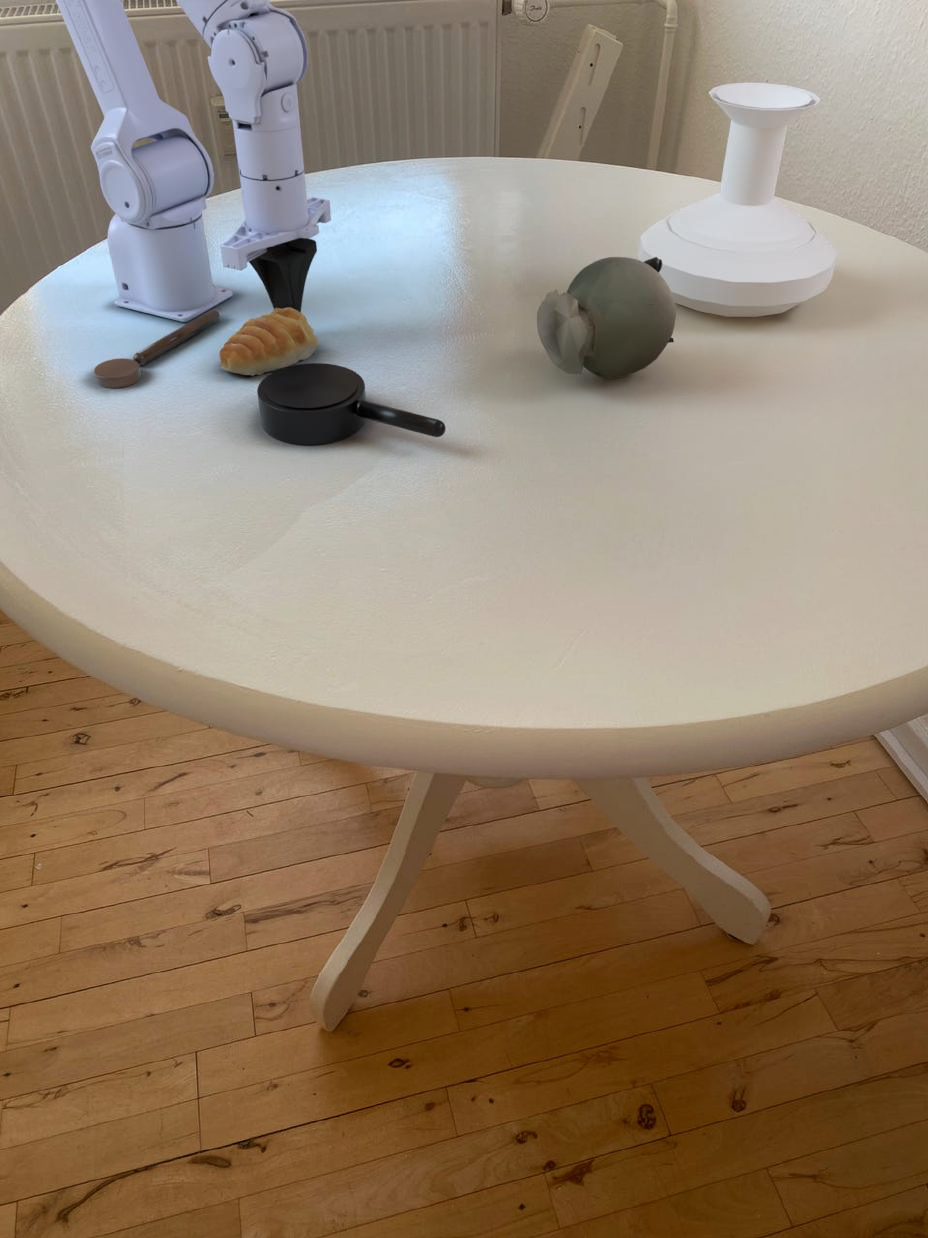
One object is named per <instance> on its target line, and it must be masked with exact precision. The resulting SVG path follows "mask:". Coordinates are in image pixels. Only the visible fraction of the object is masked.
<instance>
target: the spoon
mask: <svg viewBox="0 0 928 1238" xmlns="http://www.w3.org/2000/svg"><path fill="white" fill-rule="evenodd" d="M220 318H221V313H220V312H219V311H218V310H217V309H212V308H211V309H209V310H207V311H205V312H204V313H202V314H200V315H198V316H197V317H195V318H193V319H192V320H190V321H188V322H186V323H185V324H184V325H182V326H180V327H179V328H177V329H176V330H174V331H172V332H170V333H169V334H166V335H165V336H163V337H161V338H160V339H158V340H156V341H155V342H153V343H151V344H149V345H147V346H146V347H144V348H143V349H140V350H139V351H137V352H135V353H134V355H133V356H132V357H133V358H132V359H131V358H124V357H123V358H122V357H121V358H112V359H108V360H104V361H102V362H100V363H99V364H97V365H96V366H95V367H94V369H93V373H94V377H95V382H96V383H97V384H98V385H99V386H101V387H103V388H109V389H121V388H125V387H129V386H132V385H134V384H136V383H138V382H139V381H140V379H141V378H142V371H141V366H144V365H146V364H147V363H149V362H151V361H153V360H154V359H156V358H158V357H160V356H161V355H162V354H165V353H166V352H168V351H170V350H171V349H172V348H175V347H176V346H178V345H179V344H181V343H183V342H184V341H186V340H188V339H190V338H191V337H193V336H194V335H196V334H198V333H200V332H201V331H203V330H205V329H206V328H208V327H209V326H211V325H213V324H215V323H216V322H218V321H219V320H220Z"/></svg>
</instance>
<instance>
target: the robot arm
mask: <svg viewBox="0 0 928 1238" xmlns="http://www.w3.org/2000/svg"><path fill="white" fill-rule="evenodd" d="M175 1H176V2H177V4H178V5H179V7H180V8H181V10H182V11H183V12H184V14H185V15H186V16H187V18H188V19H189V20H190V22H191V23H192V25H193V27H194V28H195V29H196V30H197V31H198V33H199V34H200V36H201V37H202V38H203V40H204V42H205V43H206V44H207V45H208V47H209V48H210V49H211V52H210V53H211V54H210V55H209V56H207V61H208V63H207V64H208V66H209V67H208V68H209V70H210V73H211V75H212V77H213V80H214V81H215V83H216V85H217V86H218V88H219V90H220V92H221V93H222V97H223V101H224V109H225V112H227V114H228V117H229V119H230V120H231V121H232V128H233V135H234V136H233V137H234V144H235V151H236V158H237V159H236V160H237V167H238V174H239V183H240V190H241V197H242V205H243V212H244V221H243V222H242V223H241V224H240V226H239V227H238V228H237V230H236V231H235V232H234V233H233V234H232V236H230V238H229V239H228V240H226V241H225V242H223V243H221V244H220V245H219V247H220V255H221V262H222V267H223V268H228V269H231V270H236V271H243V270H245V269H247V268H248V263H249V264H250V266H251V267H252V268H253V270H254V271H255V273H256V274H257V275H258V277H259V279H260V281H261V283H262V285H263V286H264V288H265V291H266V293H267V295H268V297H269V301H270V303H271V305H272V307H273V310H274V309H275V308H280V309H284V308H288V307H291V308H293V309H295V310H298V311H299V312H300V313H302V305H303V298H304V292H305V287H306V283H307V282H306V281H307V277H308V274H309V270H310V268H311V265H312V262H313V260H314V258H315V255H316V254H317V252H318V246H317V241H316V240H315V239H312V238H313V237H315V236H317V235H318V234H319V233H320V229H319V228H320V227H319V225H318V224H319V223H321V224H327V223H329V222H331V221H332V213H331V200H330V199H326V198H325V199H324V198H320V197H315V196H312V197H309V198H308V194H307V185H306V184H307V183H306V174H305V163H304V151H303V141H302V131H301V119H300V118H301V117H300V108H299V96H298V87H297V85H298V83H300V82H301V81H303V79H304V77H305V76H306V74H307V70H308V67H309V48H308V47H309V46H308V43H307V40H306V37H305V35H304V32H303V31H302V29H301V27H300V26H299V23H298V21H297V19H296V17H295V16H294V15H293V14H292V13H290V12H289V11H287V10H285V9H283V8H280V7H275V6H274V5H272V3H271V2H270V0H175ZM55 2H56V5H57V6H58V10H59V13H60V14H61V17H62V19H63V22H64V24H65V26H66V28H67V32H68V34H69V37H70V38H71V42H72V43H73V47H74V48H75V50H76V52H77V55H78V57H79V60H80V62H81V65H82V67H83V70H84V72H85V74H86V77H87V79H88V81H89V83H90V86H91V88H92V91H93V93H94V96H95V98H96V100H97V103H98V105H99V108H100V110H101V112H102V115H103V120H102V122H101V124H100V126H99V129H98V131H97V133H96V135H95V137H94V138H93V141H92V143H91V145H90V150H91V152H92V155H93V157H94V160H95V163H96V165H97V170H98V175H99V176H98V177H99V185H100V189H101V191H102V194H103V198H104V199H105V201H106V203H107V204H108V205H107V206H109V207H110V209H111V210H112V211H113V212H114V215H113V216H112V218H111V219H110V222H109V225H108V229H107V247H108V251H109V256H110V260H111V265H112V270H113V275H114V279H115V284H116V288H117V293H118V298H115V299H114V300H113V304H114V305H115V306H117V307H120V308H121V307H122V308H125V309H129V310H133V311H137V312H142V313H146V314H148V315H153V316H156V317H162V318H166V319H170V320H174V321H176V322H177V321H178V322H182V323H188V322H190V321H192V320H194V319H196V318H197V317H199V316H201V315H203V314H204V313H206V312H208V311H209V310H211V309H212V308H214V307H215V306H218V305H219V304H220V303H222V302H224V301H226V300H227V299H229V298H231V297H233V295H234V294H233V291H232V290H230V289H227V288H223V287H218V286H214V282H213V275H212V270H211V269H212V268H211V261H210V257H209V256H210V255H209V250H208V244H207V238H206V237H207V236H206V231H205V225H204V217H203V213H202V212H203V211H205V210H207V200H206V198H207V197H209V196H210V194H211V193H212V190H213V188H214V182H215V172H214V167H213V163H212V159H211V158H210V155H209V153H208V152H207V150H206V148H205V147H204V145H203V144H202V143H201V142H200V141H199V139H198V138H197V136H196V135H195V133H194V131H193V128H192V126H191V124H190V121H189V118H188V117H187V116H186V115H185V114H184V113H182V112H181V111H179V110H178V109H176V108H174V107H173V106H171V105H170V104H167V103H166V102H164V101H163V100H162V99H161V98H160V97H159V94H158V91H157V89H156V87H155V84H154V82H153V81H154V80H153V79H152V76H151V74H150V71H149V68H148V65H147V64H146V61H145V58H144V55H143V53H142V52H141V48H140V46H139V44H138V43H139V42H138V40H137V38H136V35H135V33H134V31H133V27H132V26H131V23H130V20H129V17H128V15H127V13H126V10H125V7H124V5H123V2H122V0H55ZM145 139H152V140H154V141H152V142H148V143H145V144H142V145H140V146H139V145H138V146H137V147H133V146H134V144H135V142H139V141H141V140H145Z"/></svg>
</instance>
